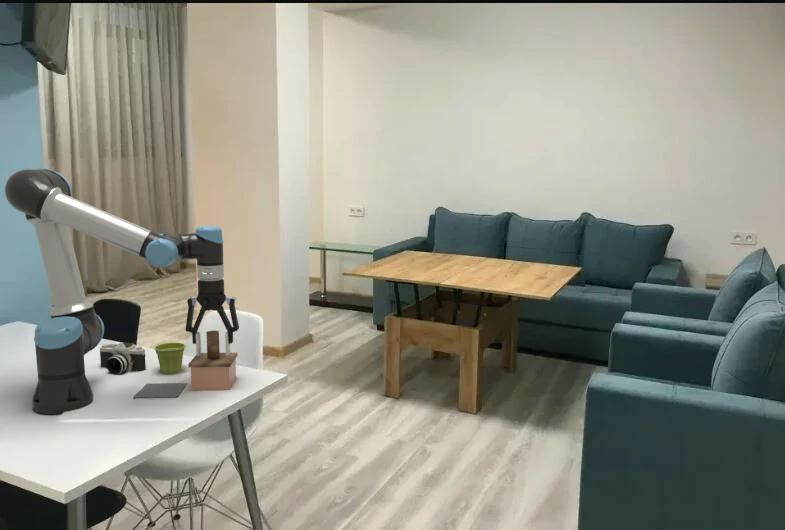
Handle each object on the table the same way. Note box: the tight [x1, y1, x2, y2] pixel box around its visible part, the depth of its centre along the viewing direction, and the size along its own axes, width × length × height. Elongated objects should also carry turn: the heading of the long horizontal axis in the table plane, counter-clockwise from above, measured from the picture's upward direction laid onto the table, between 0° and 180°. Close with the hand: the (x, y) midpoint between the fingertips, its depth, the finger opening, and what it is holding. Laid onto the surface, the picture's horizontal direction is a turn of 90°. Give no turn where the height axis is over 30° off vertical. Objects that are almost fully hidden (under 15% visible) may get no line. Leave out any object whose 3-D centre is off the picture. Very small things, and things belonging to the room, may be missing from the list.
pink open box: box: [190, 359, 237, 391], centre depth 202 cm, size 11×11×7 cm
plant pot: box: [153, 342, 186, 375], centre depth 213 cm, size 9×9×9 cm
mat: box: [133, 382, 188, 399], centre depth 196 cm, size 12×12×1 cm
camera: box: [99, 341, 147, 376], centre depth 214 cm, size 16×9×10 cm, turn 75°
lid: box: [187, 330, 238, 368], centre depth 201 cm, size 12×12×9 cm
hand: (213, 354), depth 202 cm, fingers open, 8 cm apart
